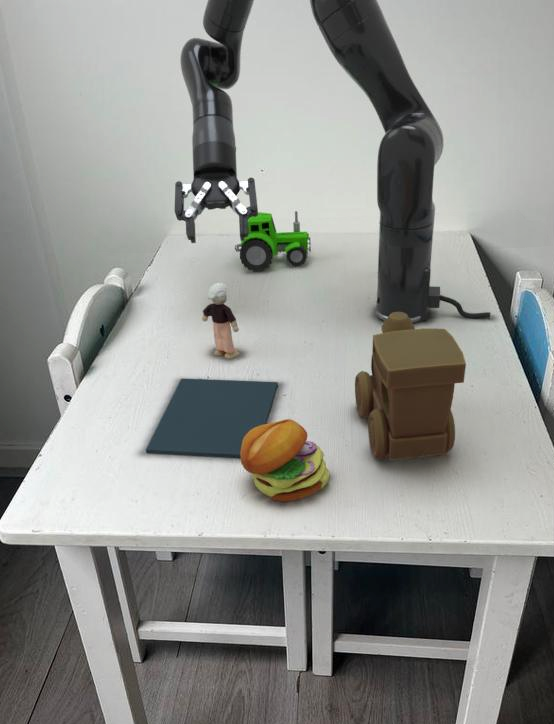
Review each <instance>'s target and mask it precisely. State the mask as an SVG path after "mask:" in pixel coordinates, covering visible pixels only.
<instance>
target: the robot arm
mask: <svg viewBox="0 0 554 724" xmlns="http://www.w3.org/2000/svg"><path fill="white" fill-rule="evenodd" d="M254 2H255V0H207V3H206V6H205V10H204V13H203V18H202V26H203V29H204V31H205V33H206V34H207V36H208V37H210V38H211V39H212V40H208V39H204V38H200V37H193V38H190V39H188V40H187V41H186V42H185V44H184V45H183V46H182V49H181V52H180V69H181V75H182V77H183V81H184V83H185V86H186V89H187V92H188V96H189V100H190V103H191V108H192V135H191V139H192V140H191V142H192V143H191V144H192V171H193V173H192V174H193V180H192V182H191V183H190V184H189V183H186V184H185V183H183V182H182V181H180V180H178V181H176V182H175V183H174V184H175V185H174V214H175V218H176V220H177V221H184V222H185V234H186V238H187V240H188V241H190V243H191V244H196V243H197V241H196V240H197V239H196V238H197V237H196V222H195V221H196V220H197V218H198V217H199V216H201V214H202V213H203V211H204V210H205V209H207V210H208V211H210V210H216V209H221V210H226V209H227V208H228V207H229V208H230V209H231V210H232V212H234V213H235V214H236V215H237V216H238V219H239V220H238V221H239V222H238V223H239V237H240V238H239V239H240V242H241V241H245V237H248V219H249V218H250V217H256V216H257V215H258V213H259V209H258V197H257V191H256V190H257V189H256V182H255V178H254V177H249V178H248V179H247V180H243V181H240V180H239V179H238V172H237V170H238V169H237V147H236V134H235V131H234V129H235V128H234V115H233V112H234V111H233V102H232V98H231V96H230V95H229V94H228V93H227V92H226V91H227V90H230V89H232V88H233V87H234V86H235V85H236V84H237V82H238V81H239V79H240V75H241V62H242V61H241V60H242V59H241V58H242V57H241V54H242V43H243V37H244V33H245V29H246V26H247V23H248V21H249V17H250V14H251V12H252V10H253V9H252V8H253V5H254ZM309 5H310V9H311V13H312V16H313V19H314V21H315V23H316V26H317V28H318V29H319V32H320V33H321V35H322V37H323V39H324V41H325V43H326V45H327V47H328V49H329V51H330V53H331V54H332V56H333V58H334V59H335V60H336V62H337V63H338V64H339V66H340V67H341V68H342V70H343V71H344V72H345V73H346V74H347V75H348V77H350V79H351V80H352V81H353V82H354V83H355V84H356V85H357V86H358V87H359V88H360V90H361V91H362V92H363V93H364V94H365V95H366V97H367V98H368V99H369V102H370V103H371V105H372V106H373V108H374V111H375V113H376V115H377V117H378V119H379V121H380V123H381V127H382V128H383V131H384V135H383V137H382V138H381V140H380V143H379V146H378V151H377V161H376V167H377V168H376V186H377V187H376V201H377V207H378V210H379V228H378V229H379V231H378V259H377V260H378V261H377V286H376V287H377V290H376V306H375V315H376V316H377V318H378V319H380V320H382V321H383V322H385V321H386V319H387V318H388V316H389V315H390V314H391V313H393V312H403V313H405V314H407V315H408V317H409V318H410V320H411V321H412V323H413V324H415V323H418V322H426V321H427V320H428V310H429V309H440V303H441V302H443V303H448V304H450V305H452V306H454V307H455V308H456V310H457V312H458V314H459V315H460V316H462V317H463V318H467V319H483V318H491V312H489V311H488V312H487V311H486V312H478V313H477V312H475V313H470V312H467V311H465V310H464V308H463V306H462V303H460V302H458V301H457V300H456V299H453V298H452V297H448V296H445V295H442V294H441V286H435V285H434V286H433V285H431V286H430V284H431V272H432V265H431V263H432V253H433V241H434V240H433V239H434V226H435V216H436V204H435V202H434V201H433V191H434V179H435V178H434V176H435V166H436V165H437V163H438V162H439V161H440V159H441V156H442V154H443V151H444V146H445V145H444V143H445V142H444V135H443V131H442V129H441V126H440V124H439V122H438V121H437V119H436V117H435V116H434V114H433V112H432V111H431V109H430V108H429V106H428V104H427V102H426V101H425V99H424V98H423V96H422V95H421V93H420V91H419V89H418V88H417V86H416V85H415V83H414V80H413V79H412V77H411V75H410V73H409V70H408V67H407V66H406V63H405V61H404V59H403V56H402V54H401V52H400V48H399V47H398V44H397V42H396V39H395V38H394V36H393V33H392V31H391V29H390V26H389V25H388V22H387V20H386V18H385V14H384V13H383V10H382V8H381V6H380V4H379V1H378V0H309ZM213 40H214V41H213ZM224 90H226V91H224ZM241 190H242V191H243V192H244V194H245V195H247V196H248V197H249V206H247V207H245V205H243V203H242V202H241V200H240V199H239V197H238V196H237V195H238V194H239V192H240V191H241ZM190 193H192V195H193V196H194V198H193V199H192V201H191V204H190V205H189V207H188V208H187V210H185V199H187V198H188V197H189V194H190Z"/></svg>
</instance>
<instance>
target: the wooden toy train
mask: <svg viewBox="0 0 554 724" xmlns="http://www.w3.org/2000/svg"><path fill="white" fill-rule="evenodd" d="M370 358H371V359H370V361H371V362H370V370H371V374H370V373H369V372H367V371H364V370H361V371H359V372H358V373H357V374H356V376H355V378H354V395H355V396H354V397H355V405H356V410H357V413H358V415H359V417H361V418H363V419H365V420H367V419H368V421H367V430H368V431H367V432H368V442H369V448H370V451H371V454H372V456H373V457H374V458H375V459H376V460H380V461H382V460H385V459H386V458H387V457H388V458H389V460H390V461H393V460H394V461H395V460H404V459H405V460H406V459H414V458H424V457H425V458H426V457H434V456H435V457H436V456H442V455H443V456H444V455H446V454H447V453H449V452H450V451H451V450H453V447H454V445H455V441H456V425H455V419H454V414H453V411H452V405H453V400H454V393H455V386H456V385H455V384H463V383H465V376H466V368H467V367H466V366H467V363H466V359H465V356H464V353H463V350H462V349H461V347H460V346H459V344H458V342H457V341H456V339H455V338H454V336H453V335H452V334H451V333H450V332H449V331H448V330H447V329H445V328H427V327H426V328H425V327H424V328H423V327H422V328H416V327H415V323H412V321H411V320H410V318H409V317H408V315H407V314H405V313H403V312H393V313H391V314H390V315H389V316H388V318H387V319H386V321H383V323H382V325H381V333H377V334H373V335H372V354H371V357H370Z"/></svg>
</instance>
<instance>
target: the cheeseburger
mask: <svg viewBox="0 0 554 724" xmlns="http://www.w3.org/2000/svg"><path fill="white" fill-rule="evenodd" d="M240 455H241V458H240V463H241V466H242V467H243V469H244V470H245V471H247V472H248V473H249V474H251V475H252V478H253V481H254V485H255V487H256V488H257V489H258V490H259V491H260V492H261V493H262V494H263V495H264V496H266V497H268V498H270V499H271V500H273V501H277V502H285V503H286V502H291V501H296V500H300V499H304V498H306V497H309V496H311V495H313V494H315V493H316V492H318V491H319V490H322V489H324V488H325V486H326V485H327V484H328V482H329V481H330V472H329V469H328V468H327V463H326V461H325V460H324V457H325V453H324V452H323V450H322V449H321V447H320V446H318V445H317V444H316V443H315V442H313V441H309V440H308V432H307V431H306V429H305V428H304V427H303V426H302V425H301V424H300V423H299V422H298V421H295V420H293V419H290V418H288V419H287V418H286V419H282V420H278V421H275V422H269V423H266V424H264V425H261V426H258V427H255V428H253V429H252V430H250V431H249V432H248V433H247V434H246V436H245V437H244V439H243V441H242V446H241V452H240Z"/></svg>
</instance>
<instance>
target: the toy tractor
mask: <svg viewBox="0 0 554 724" xmlns="http://www.w3.org/2000/svg"><path fill="white" fill-rule="evenodd" d="M298 215H299V214H298V211H294V221H293V223H292V225H293V227H292V228H293V231H286V232H277V229H276V225H275V221H274V218H273V214H272V213H268V212H262V211H261V212H259V211H258V215H257V216H256V217H250V218H249V219H248V237H245V241H241V240H240V243H238V244H237V243H236V244H235V245H234V251H235V252H238V253H239V260H240V262H241V264H242V265H243V267H244V268H246V269H247V270H248V271H252V272H253V273H256V272H257V273H260V272H261V271H265V270H266V269H268V268H269V267H270V265H271V264H272V261H273V258H274V256H276V255H278V254H279V253H285V254H286V256H285V258H286V262H288V265H290V266H292V267H300V266H302V265H304V264H305V263H306V261H307V258H308V253H309V252H310V253H311V252H312V246H311V245H312V243H311V236H310V234H309V233H308V231H301V222H300V221H299V219H298V218H299V217H298Z"/></svg>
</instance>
